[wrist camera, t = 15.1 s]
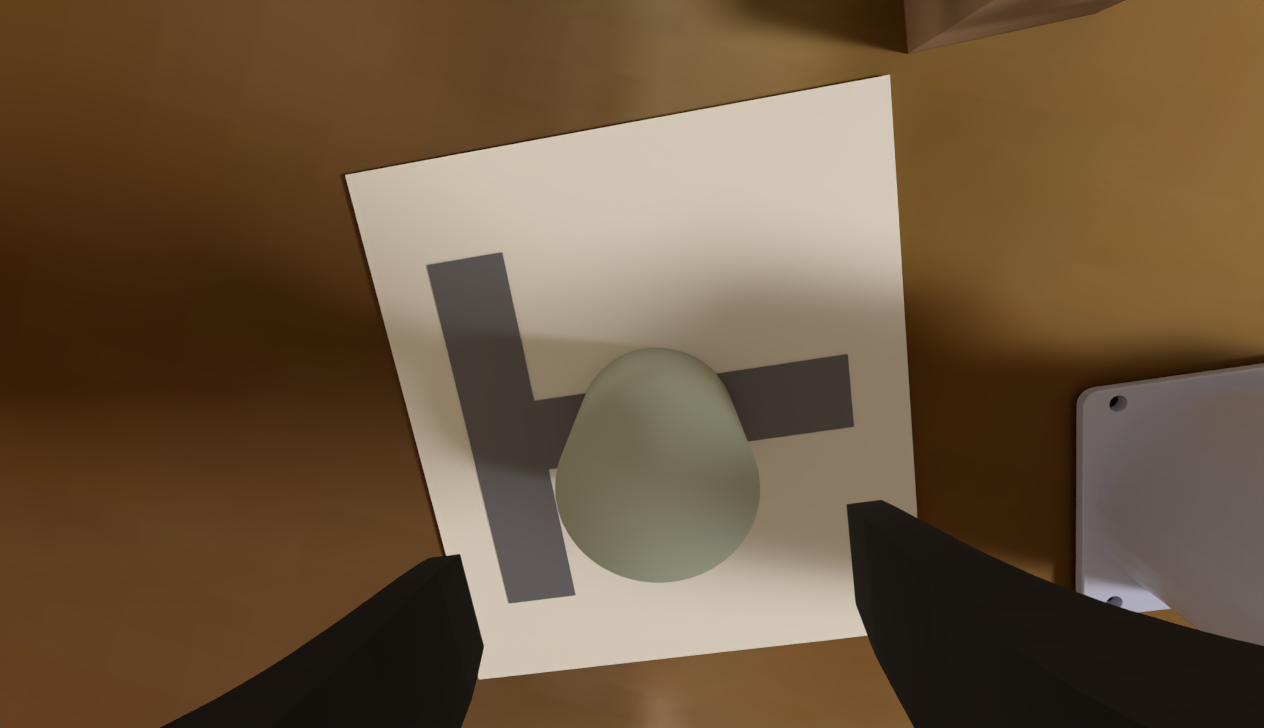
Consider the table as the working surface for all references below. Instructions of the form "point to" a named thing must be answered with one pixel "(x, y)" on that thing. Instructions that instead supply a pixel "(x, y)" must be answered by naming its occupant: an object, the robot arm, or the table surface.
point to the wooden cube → (985, 18)
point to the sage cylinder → (657, 469)
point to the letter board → (653, 318)
